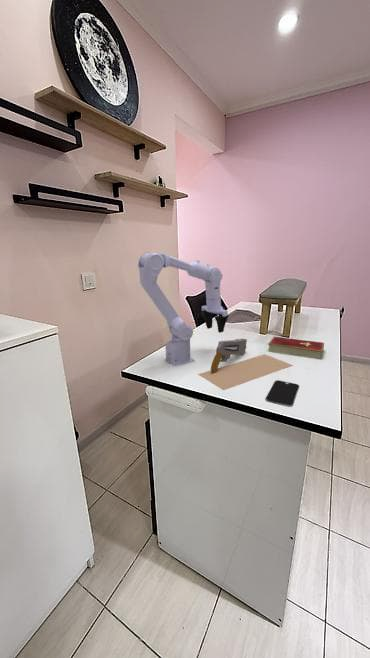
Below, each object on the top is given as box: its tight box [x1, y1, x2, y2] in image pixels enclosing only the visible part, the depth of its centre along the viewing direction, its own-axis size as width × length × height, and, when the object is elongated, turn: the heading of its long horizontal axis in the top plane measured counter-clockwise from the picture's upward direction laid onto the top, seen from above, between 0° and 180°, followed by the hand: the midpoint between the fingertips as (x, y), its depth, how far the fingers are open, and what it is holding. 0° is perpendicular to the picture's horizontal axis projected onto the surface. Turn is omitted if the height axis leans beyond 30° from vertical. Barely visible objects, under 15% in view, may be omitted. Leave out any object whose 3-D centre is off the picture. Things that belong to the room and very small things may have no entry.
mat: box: [197, 353, 294, 391], centre depth 102 cm, size 34×14×1 cm, turn 122°
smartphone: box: [265, 379, 300, 408], centre depth 85 cm, size 8×1×15 cm
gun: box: [210, 338, 248, 373], centre depth 108 cm, size 3×25×15 cm, turn 143°
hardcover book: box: [267, 336, 325, 360], centre depth 119 cm, size 12×21×4 cm, turn 61°
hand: (215, 330), depth 115 cm, fingers open, 7 cm apart
